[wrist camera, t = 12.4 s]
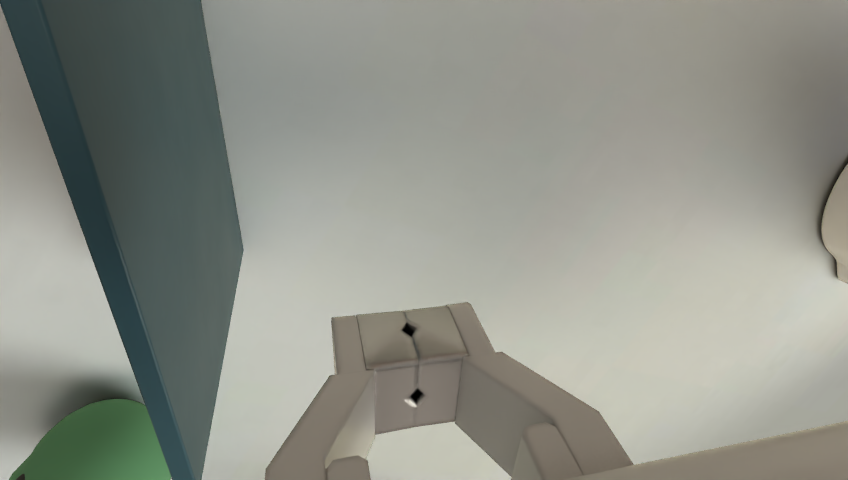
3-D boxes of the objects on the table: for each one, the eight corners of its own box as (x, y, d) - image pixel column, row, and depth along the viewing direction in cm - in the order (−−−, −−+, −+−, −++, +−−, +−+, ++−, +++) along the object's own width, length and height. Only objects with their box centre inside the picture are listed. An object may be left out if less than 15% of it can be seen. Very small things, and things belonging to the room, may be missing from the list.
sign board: (22, -54, 7) (-32, -57, 7) (199, 494, 14) (174, 498, 14) (192, -52, 19) (172, -53, 19) (243, 250, 26) (230, 251, 26)
